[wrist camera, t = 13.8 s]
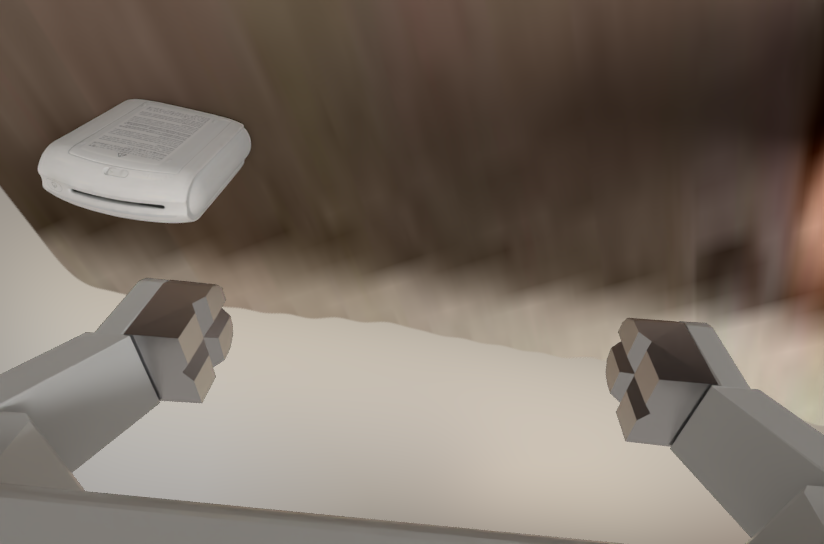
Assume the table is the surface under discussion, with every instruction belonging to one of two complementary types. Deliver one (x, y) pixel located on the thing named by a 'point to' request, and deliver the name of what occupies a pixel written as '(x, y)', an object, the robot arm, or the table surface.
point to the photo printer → (146, 161)
